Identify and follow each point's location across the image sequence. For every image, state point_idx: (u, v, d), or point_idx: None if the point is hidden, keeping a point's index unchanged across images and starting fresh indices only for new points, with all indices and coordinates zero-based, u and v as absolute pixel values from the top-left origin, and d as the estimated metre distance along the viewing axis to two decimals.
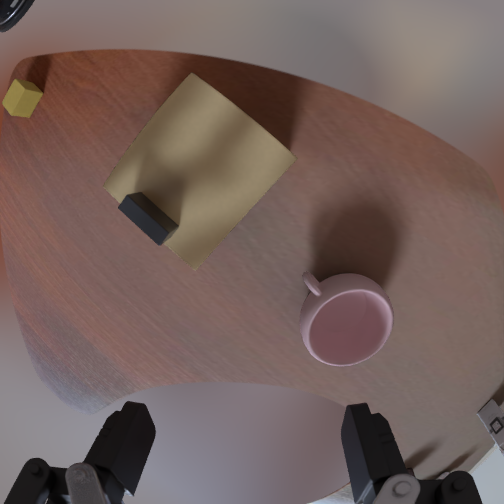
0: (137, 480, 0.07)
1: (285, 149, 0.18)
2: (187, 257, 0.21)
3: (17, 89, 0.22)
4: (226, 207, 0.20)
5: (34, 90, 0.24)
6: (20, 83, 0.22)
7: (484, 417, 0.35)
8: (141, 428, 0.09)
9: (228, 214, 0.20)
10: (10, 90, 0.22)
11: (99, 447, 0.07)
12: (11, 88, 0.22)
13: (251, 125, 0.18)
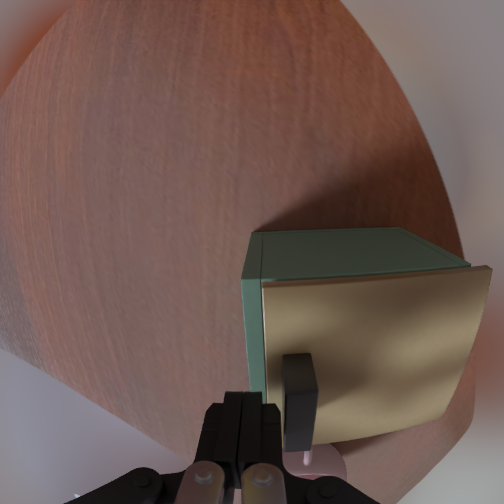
0: None
1: (446, 407, 0.12)
2: None
3: None
4: (364, 425, 0.12)
5: None
6: None
7: None
8: None
9: (357, 430, 0.13)
10: None
11: (208, 443, 0.08)
12: None
13: (457, 374, 0.11)
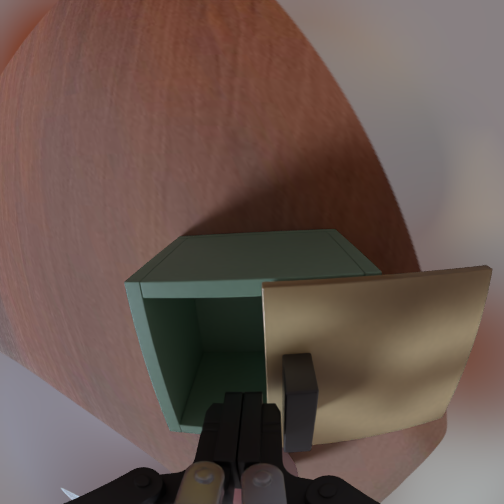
0: None
1: (446, 407, 0.12)
2: None
3: None
4: (364, 425, 0.12)
5: None
6: None
7: None
8: None
9: (357, 431, 0.13)
10: None
11: (208, 443, 0.08)
12: None
13: (457, 374, 0.11)
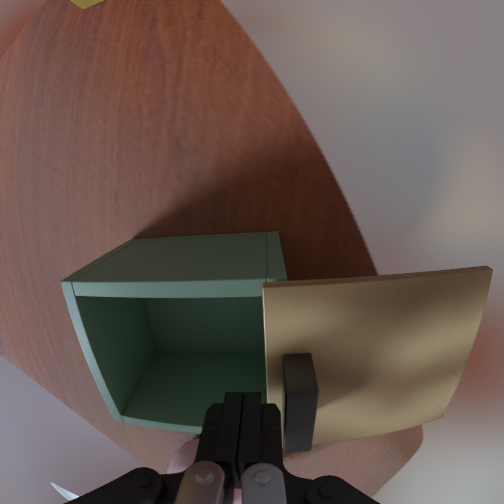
0: None
1: (446, 408, 0.12)
2: None
3: None
4: (364, 425, 0.12)
5: None
6: None
7: None
8: None
9: (357, 431, 0.13)
10: None
11: (208, 443, 0.08)
12: None
13: (457, 374, 0.11)
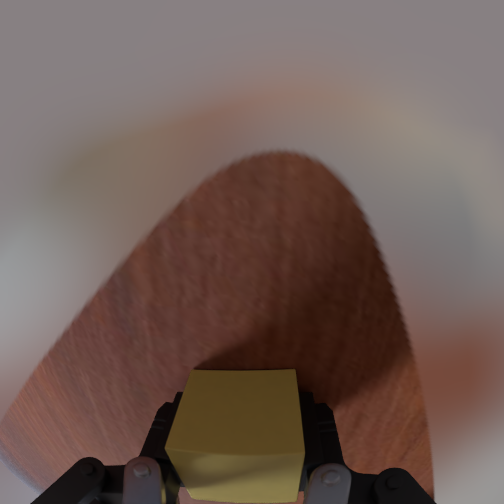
0: None
1: None
2: None
3: (274, 486, 0.07)
4: None
5: None
6: None
7: None
8: None
9: None
10: (245, 465, 0.06)
11: (154, 440, 0.08)
12: (255, 464, 0.06)
13: None
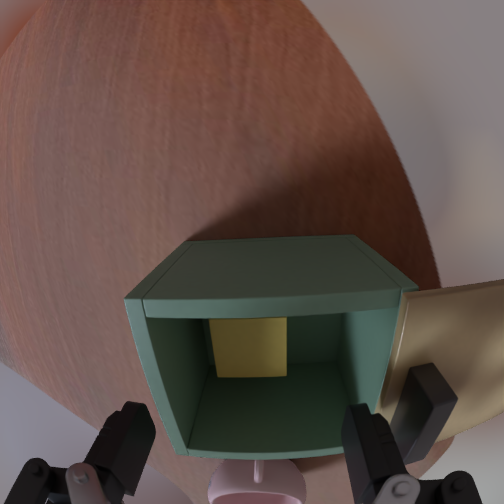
0: (137, 480, 0.07)
1: None
2: None
3: (271, 353, 0.15)
4: (448, 427, 0.10)
5: None
6: None
7: None
8: (141, 428, 0.09)
9: (441, 433, 0.11)
10: (254, 328, 0.14)
11: (99, 447, 0.07)
12: (259, 327, 0.14)
13: None
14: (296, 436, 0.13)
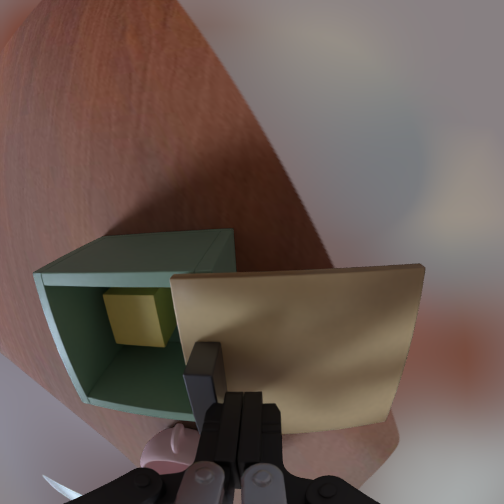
0: None
1: (388, 411, 0.13)
2: None
3: (148, 325, 0.18)
4: (292, 420, 0.13)
5: (172, 327, 0.20)
6: (159, 319, 0.18)
7: None
8: None
9: (287, 425, 0.14)
10: (132, 303, 0.17)
11: (208, 443, 0.08)
12: (136, 303, 0.17)
13: (395, 377, 0.12)
14: (166, 399, 0.16)
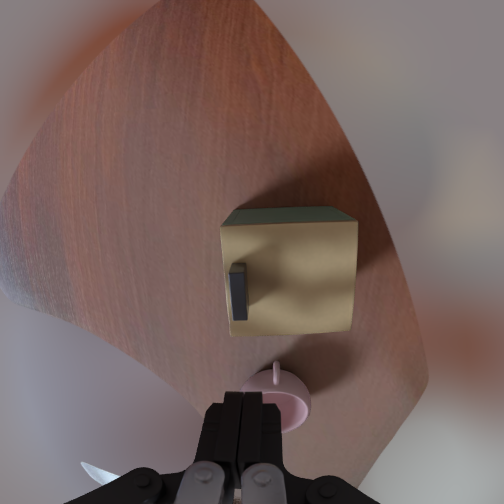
0: None
1: (350, 321, 0.24)
2: (234, 326, 0.25)
3: None
4: (288, 322, 0.24)
5: None
6: None
7: None
8: None
9: (284, 326, 0.24)
10: None
11: (208, 443, 0.08)
12: None
13: (350, 292, 0.23)
14: None
